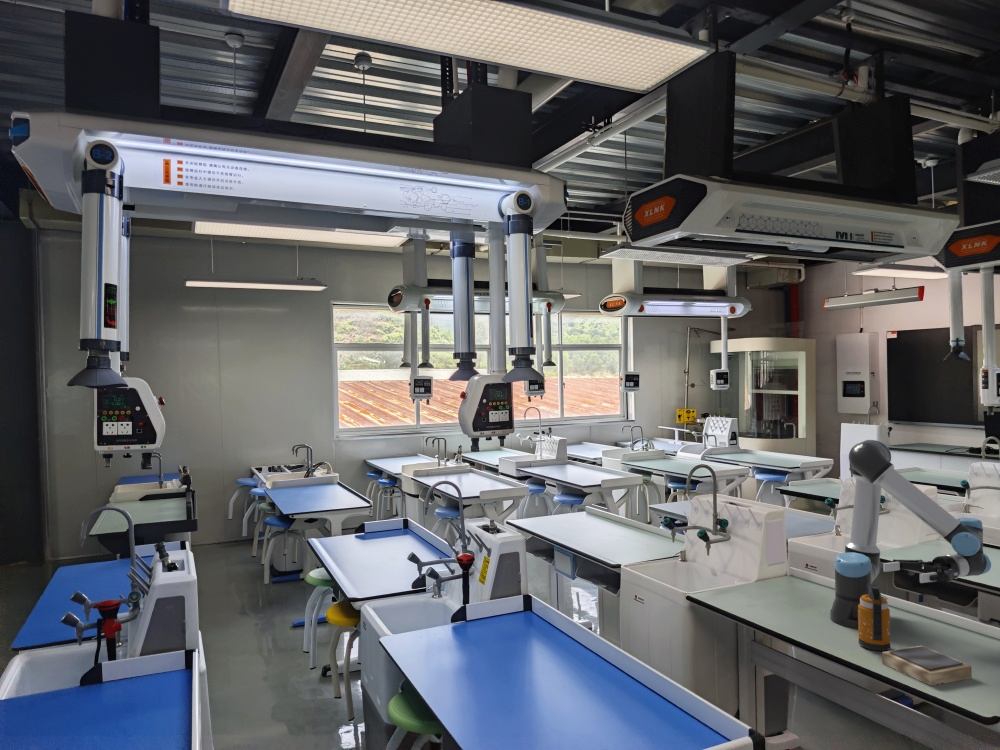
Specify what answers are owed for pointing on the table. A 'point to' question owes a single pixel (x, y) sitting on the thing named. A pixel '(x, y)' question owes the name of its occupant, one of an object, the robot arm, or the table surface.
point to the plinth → (927, 665)
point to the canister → (874, 620)
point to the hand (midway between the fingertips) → (901, 572)
